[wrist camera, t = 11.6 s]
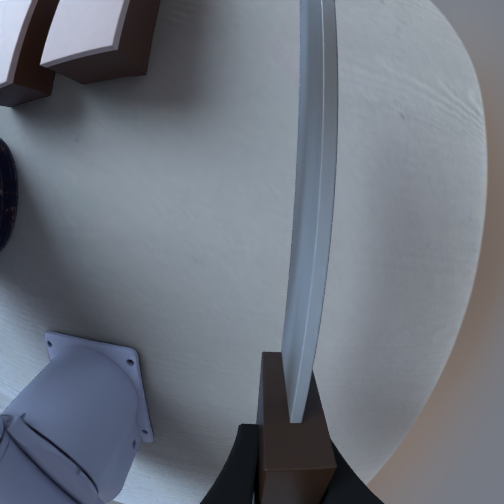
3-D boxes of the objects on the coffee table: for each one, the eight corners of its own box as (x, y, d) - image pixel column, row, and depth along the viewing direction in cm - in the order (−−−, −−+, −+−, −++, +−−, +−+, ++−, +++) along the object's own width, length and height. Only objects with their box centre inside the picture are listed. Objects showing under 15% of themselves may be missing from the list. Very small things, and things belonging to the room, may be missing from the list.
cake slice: (146, 74, 14) (112, 45, 10) (82, 85, 14) (39, 65, 10) (169, -33, 12) (151, -72, 7) (110, -21, 12) (83, -52, 7)
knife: (288, 455, 11) (295, 545, 6) (253, 455, 11) (251, 546, 6) (324, -32, 7) (356, -122, 2) (280, -38, 7) (290, -133, 2)
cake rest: (51, 95, 14) (6, 81, 10) (9, 107, 14) (-33, 100, 10) (78, -9, 12) (48, -35, 7) (36, 8, 12) (4, -11, 8)
